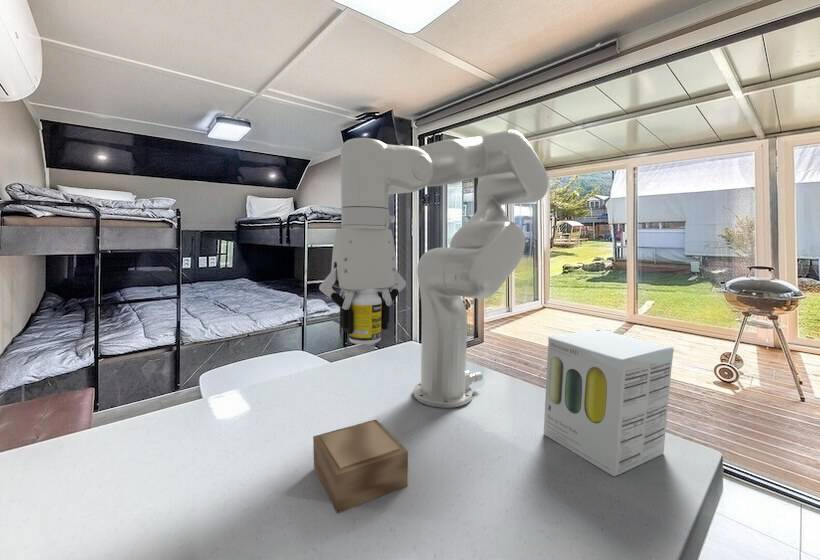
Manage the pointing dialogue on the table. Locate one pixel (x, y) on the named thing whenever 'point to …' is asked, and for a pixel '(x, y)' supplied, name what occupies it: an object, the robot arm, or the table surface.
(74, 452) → the table surface
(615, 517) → the table surface
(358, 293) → the supplement bottle
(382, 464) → the brown square tray
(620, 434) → the supplement box
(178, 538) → the table surface
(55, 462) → the table surface
